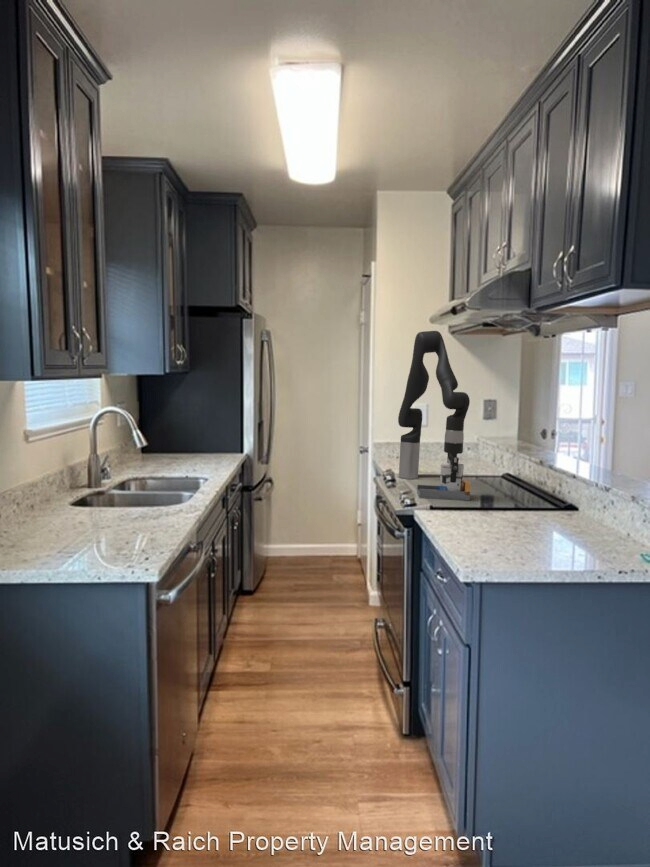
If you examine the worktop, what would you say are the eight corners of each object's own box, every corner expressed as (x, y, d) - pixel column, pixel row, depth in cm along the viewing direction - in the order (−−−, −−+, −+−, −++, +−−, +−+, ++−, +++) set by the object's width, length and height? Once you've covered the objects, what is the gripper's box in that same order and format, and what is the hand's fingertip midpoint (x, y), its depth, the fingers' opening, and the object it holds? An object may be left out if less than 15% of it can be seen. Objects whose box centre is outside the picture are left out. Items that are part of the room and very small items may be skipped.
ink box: (438, 491, 244) (440, 463, 243) (441, 489, 249) (443, 462, 248) (459, 494, 241) (461, 465, 240) (462, 492, 245) (464, 464, 244)
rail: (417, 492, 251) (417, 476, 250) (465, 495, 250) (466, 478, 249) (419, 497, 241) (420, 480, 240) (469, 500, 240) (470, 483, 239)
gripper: (442, 438, 250) (440, 476, 252) (447, 442, 236) (444, 483, 238) (460, 439, 250) (458, 477, 251) (466, 443, 235) (463, 484, 237)
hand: (451, 480), depth 244 cm, fingers open, 8 cm apart
